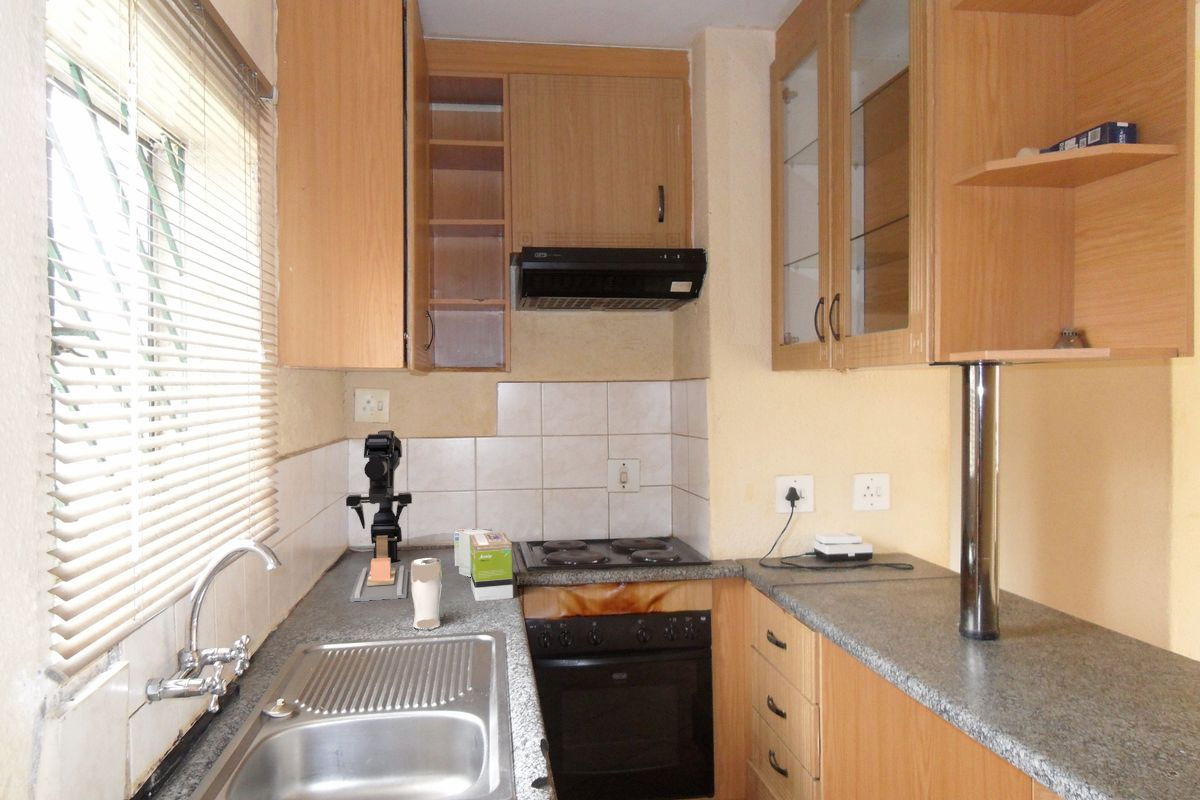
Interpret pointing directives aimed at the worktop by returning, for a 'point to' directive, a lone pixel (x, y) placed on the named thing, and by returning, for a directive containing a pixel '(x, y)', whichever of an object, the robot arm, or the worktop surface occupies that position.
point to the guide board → (380, 587)
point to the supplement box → (467, 549)
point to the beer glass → (426, 591)
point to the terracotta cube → (380, 569)
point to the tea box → (491, 567)
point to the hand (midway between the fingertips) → (380, 528)
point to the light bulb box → (456, 544)
